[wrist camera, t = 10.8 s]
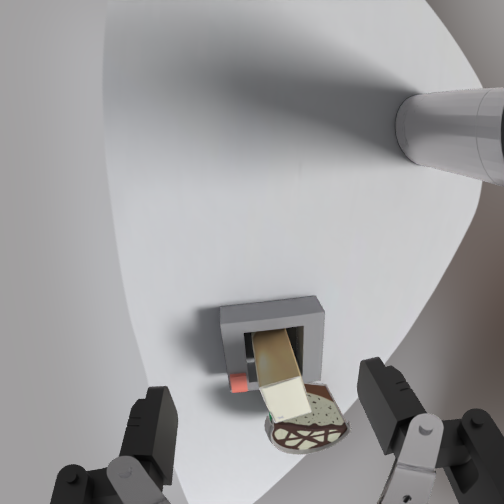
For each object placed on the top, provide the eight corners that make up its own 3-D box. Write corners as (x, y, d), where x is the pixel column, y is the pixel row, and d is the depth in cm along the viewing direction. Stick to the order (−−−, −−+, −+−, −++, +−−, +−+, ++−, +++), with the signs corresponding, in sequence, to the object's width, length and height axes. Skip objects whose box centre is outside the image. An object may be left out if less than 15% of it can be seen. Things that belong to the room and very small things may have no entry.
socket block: (315, 295, 40) (326, 314, 35) (313, 362, 43) (321, 383, 39) (219, 306, 39) (220, 327, 34) (229, 372, 43) (230, 395, 38)
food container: (247, 403, 45) (253, 454, 36) (259, 375, 43) (269, 428, 34) (318, 410, 48) (334, 456, 38) (334, 385, 46) (354, 431, 36)
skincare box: (292, 349, 42) (313, 414, 31) (261, 358, 42) (275, 425, 31) (280, 311, 40) (301, 376, 28) (247, 322, 40) (258, 389, 29)
